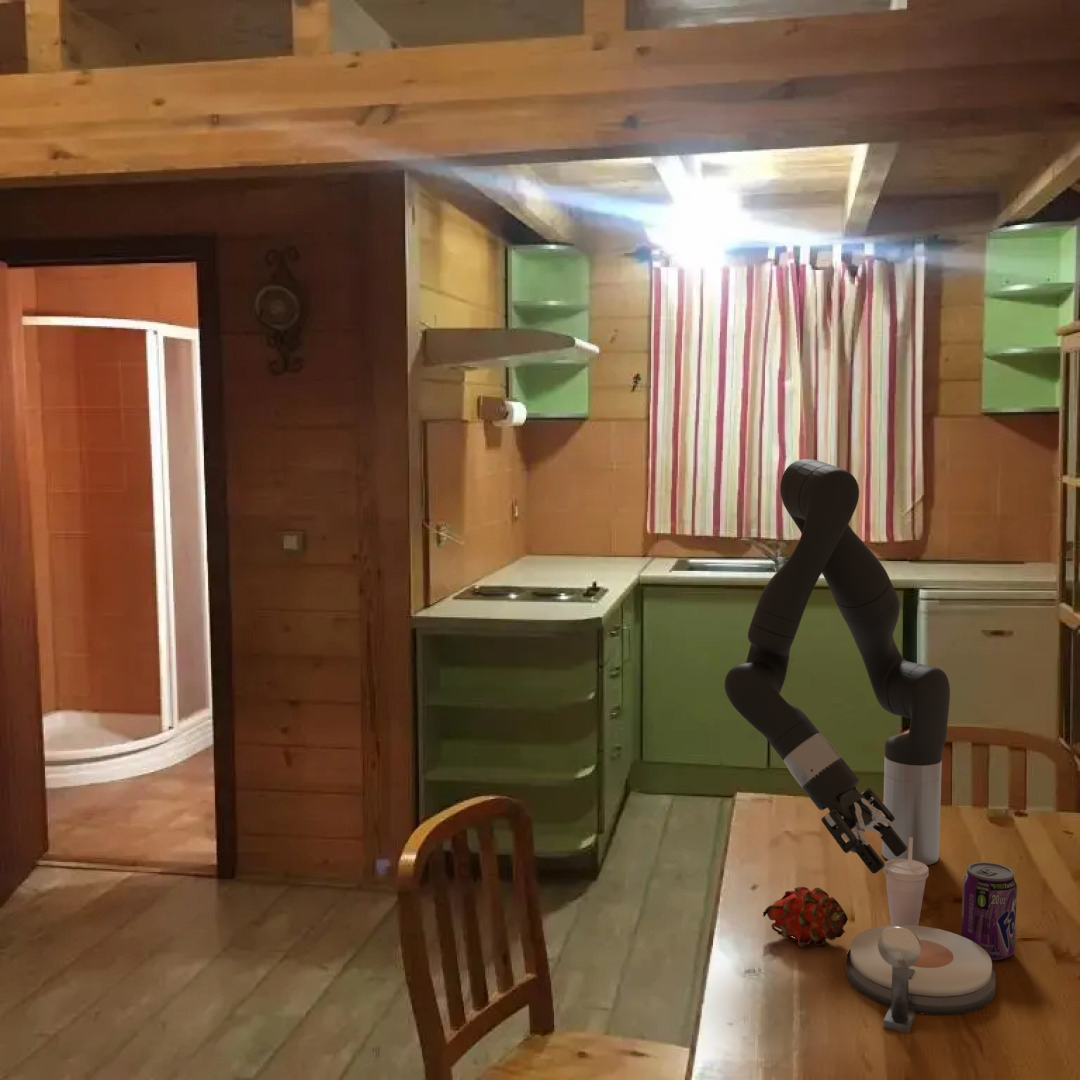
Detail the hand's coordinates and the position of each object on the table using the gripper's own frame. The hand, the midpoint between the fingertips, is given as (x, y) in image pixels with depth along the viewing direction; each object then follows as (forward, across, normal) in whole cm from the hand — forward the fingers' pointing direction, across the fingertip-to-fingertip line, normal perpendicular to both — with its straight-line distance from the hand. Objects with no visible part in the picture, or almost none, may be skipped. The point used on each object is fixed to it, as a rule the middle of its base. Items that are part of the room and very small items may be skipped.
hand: (891, 861), depth 181 cm
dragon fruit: (+2, -12, +13) cm, 18 cm away
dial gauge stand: (+16, -26, -1) cm, 31 cm away
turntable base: (+14, -14, 0) cm, 20 cm away
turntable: (+12, -14, -1) cm, 18 cm away
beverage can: (+17, 0, -3) cm, 17 cm away
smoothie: (+9, 0, +6) cm, 10 cm away
